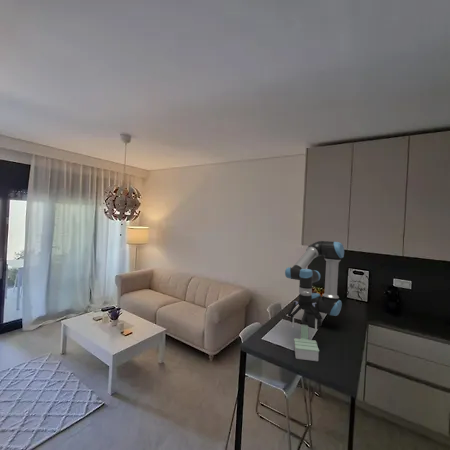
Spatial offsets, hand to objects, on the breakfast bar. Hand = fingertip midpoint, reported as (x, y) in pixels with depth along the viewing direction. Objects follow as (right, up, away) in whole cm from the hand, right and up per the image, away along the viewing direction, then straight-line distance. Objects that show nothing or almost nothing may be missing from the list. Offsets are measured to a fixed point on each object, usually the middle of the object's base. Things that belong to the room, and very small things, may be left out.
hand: (304, 328), depth 156 cm
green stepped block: (-1, -6, -6) cm, 9 cm away
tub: (-2, -12, -9) cm, 15 cm away
